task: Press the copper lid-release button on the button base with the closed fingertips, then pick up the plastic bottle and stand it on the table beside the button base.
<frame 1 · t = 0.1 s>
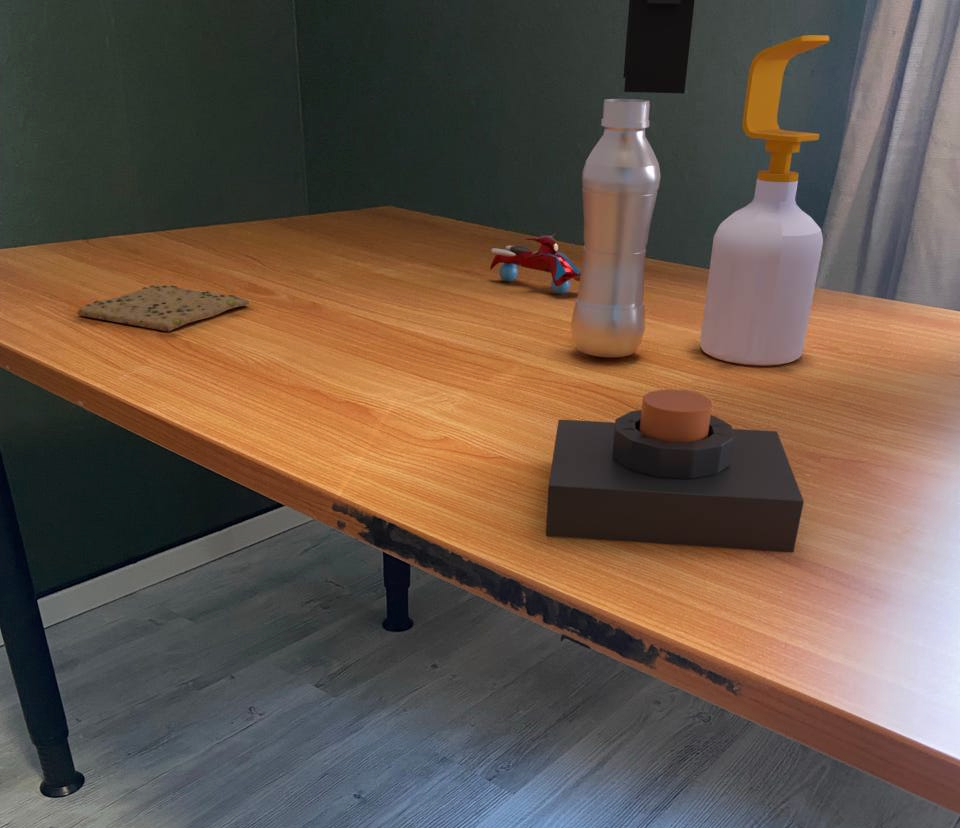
hand: (650, 85, 51), 22 cm above the table, tool pointing down, fingers open, 13 cm apart
button base: (664, 505, 61), on the table
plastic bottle: (605, 357, 89), on the table
release button: (675, 417, 58), point 6 cm above the table, slide at 0.1 cm
tan flat square slab: (165, 311, 99), on the table
soap bottle: (749, 354, 90), on the table
hoverbike: (535, 289, 110), on the table
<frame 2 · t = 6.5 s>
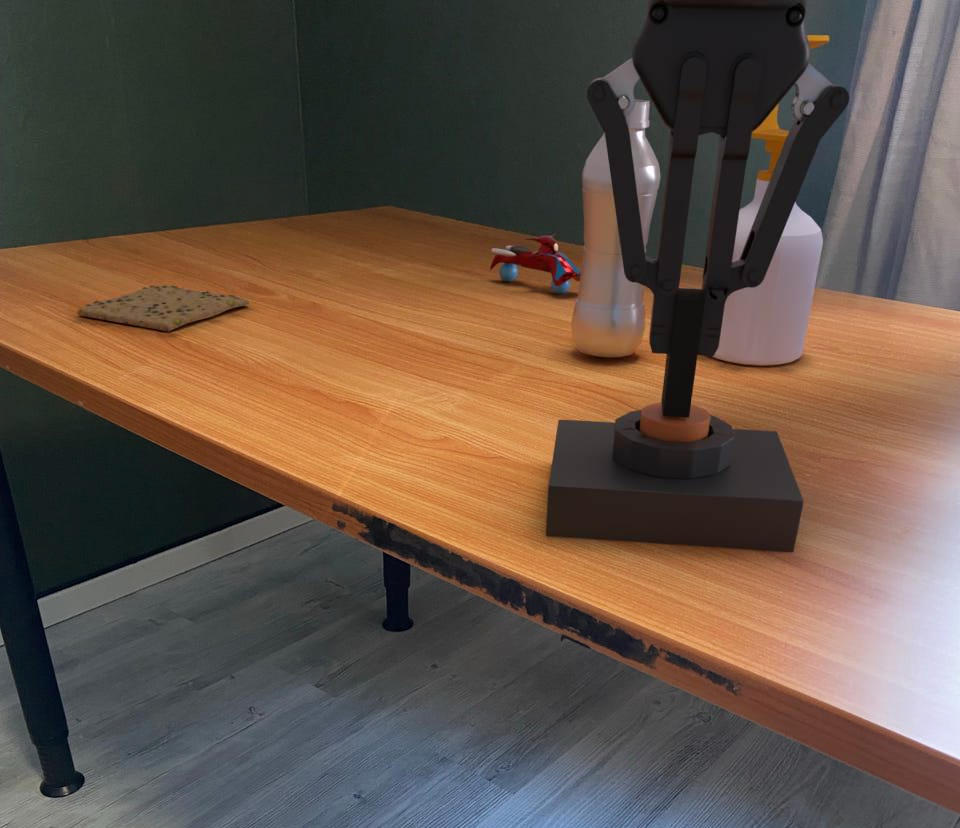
hand: (674, 408, 58), 6 cm above the table, tool pointing down, fingers closed
release button: (673, 429, 59), point 5 cm above the table, slide at -0.7 cm, touching gripper
everything else where it was.
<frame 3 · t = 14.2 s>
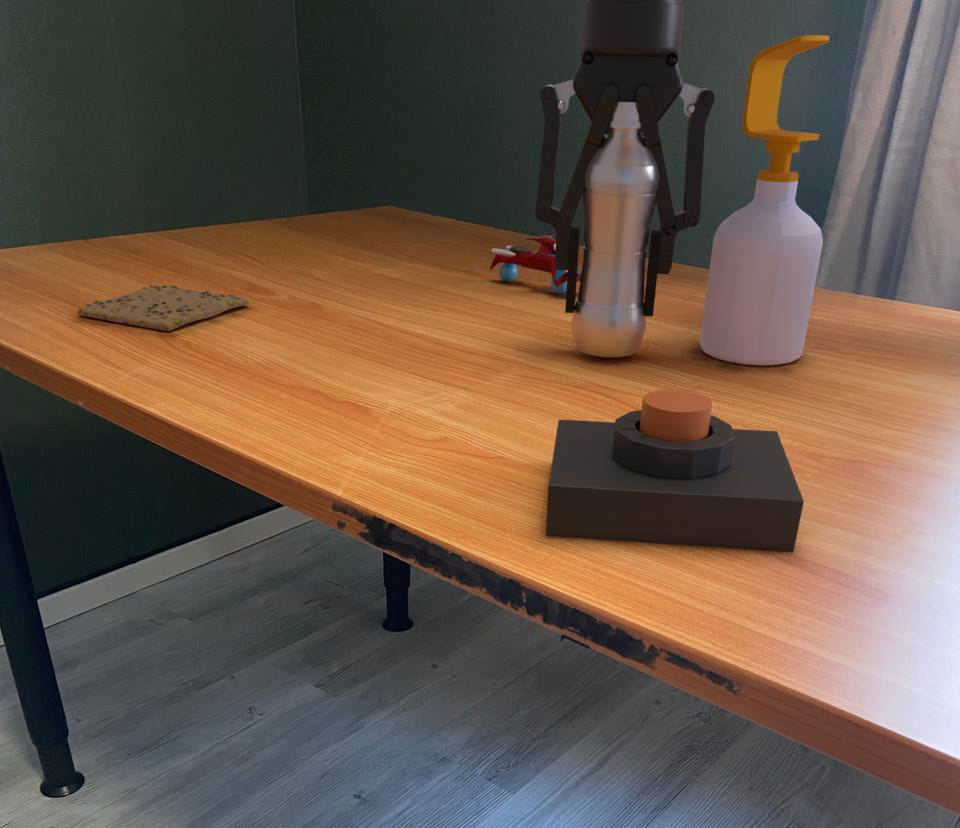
hand: (608, 310, 86), 4 cm above the table, tool pointing down, fingers closed on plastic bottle, 6 cm apart
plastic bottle: (605, 357, 89), on the table, touching gripper
release button: (675, 417, 58), point 6 cm above the table, slide at 0.1 cm
everything else where it was.
when the fingers open (4 cm above the table, at t = 22.9 s): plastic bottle stays where it is, on the table.
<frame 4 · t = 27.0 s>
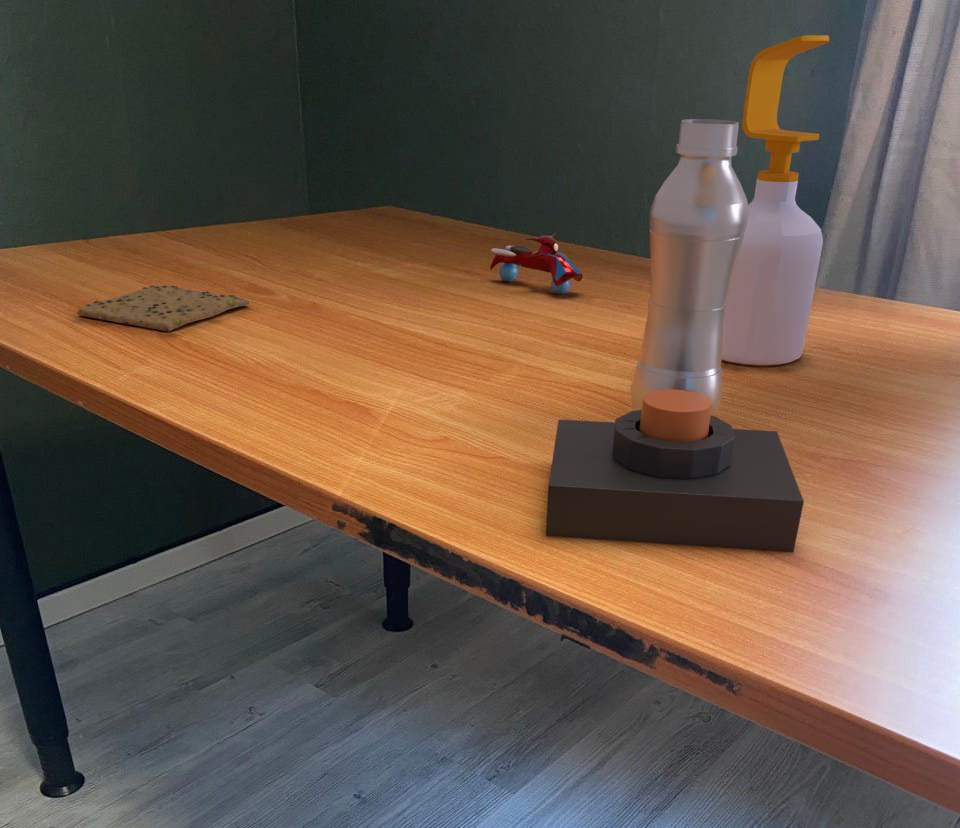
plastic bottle: (671, 430, 73), on the table
everything else where it was.
at the end: release button pushed in 1.0 cm at the most during the clip, back to where it started at the end; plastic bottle 14.0 cm from the button base (horizontally); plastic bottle tilted 0° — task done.
